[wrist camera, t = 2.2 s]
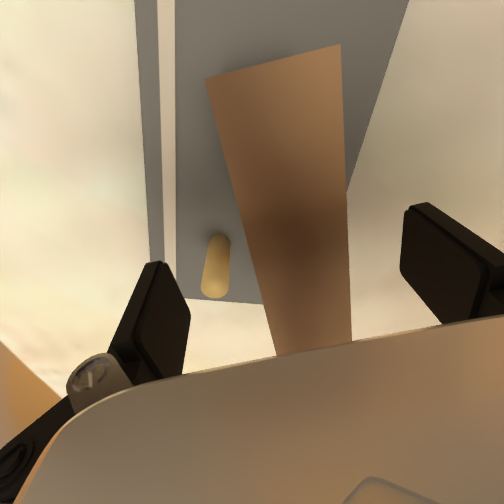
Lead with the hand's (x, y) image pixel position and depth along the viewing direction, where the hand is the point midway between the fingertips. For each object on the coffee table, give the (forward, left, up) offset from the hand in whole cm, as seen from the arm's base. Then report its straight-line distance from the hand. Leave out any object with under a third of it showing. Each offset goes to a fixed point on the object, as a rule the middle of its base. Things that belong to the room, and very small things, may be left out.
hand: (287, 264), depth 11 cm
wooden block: (-1, 0, -9) cm, 9 cm away
